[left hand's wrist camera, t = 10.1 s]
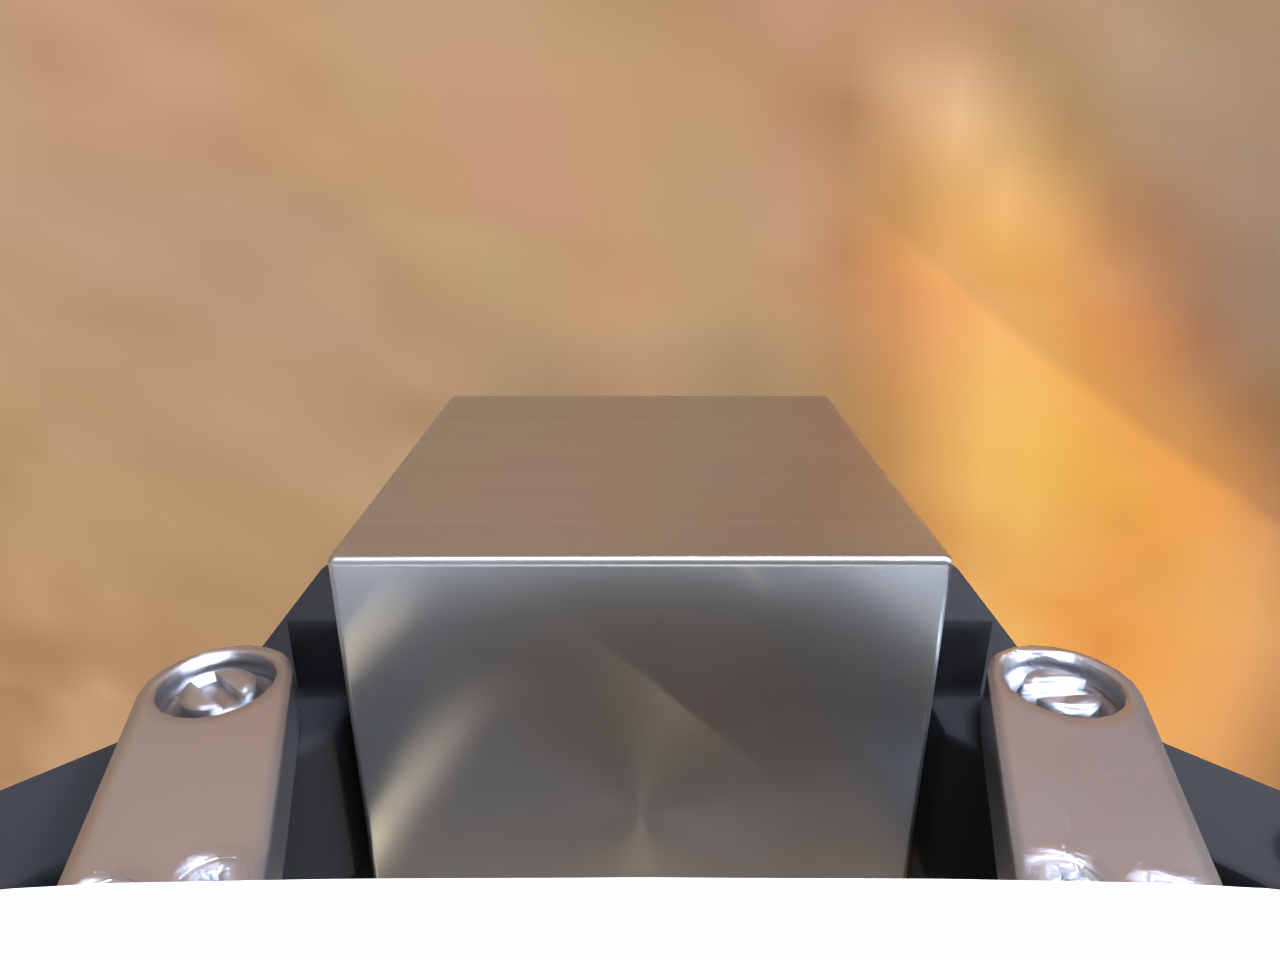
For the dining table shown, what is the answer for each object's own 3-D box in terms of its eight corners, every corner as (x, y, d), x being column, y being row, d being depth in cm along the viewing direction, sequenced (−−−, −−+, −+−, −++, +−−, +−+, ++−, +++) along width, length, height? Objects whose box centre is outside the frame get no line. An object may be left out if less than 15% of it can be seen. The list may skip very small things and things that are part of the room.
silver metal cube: (477, 715, 13) (391, 1015, 9) (451, 394, 11) (322, 558, 7) (802, 714, 13) (889, 1016, 9) (828, 394, 11) (956, 558, 7)
